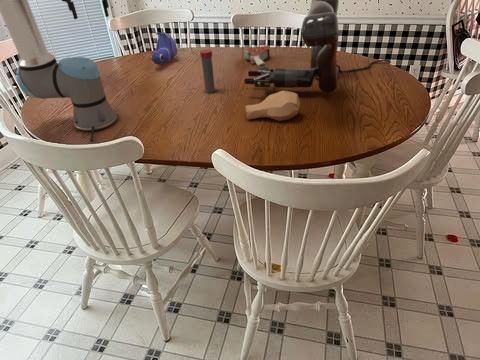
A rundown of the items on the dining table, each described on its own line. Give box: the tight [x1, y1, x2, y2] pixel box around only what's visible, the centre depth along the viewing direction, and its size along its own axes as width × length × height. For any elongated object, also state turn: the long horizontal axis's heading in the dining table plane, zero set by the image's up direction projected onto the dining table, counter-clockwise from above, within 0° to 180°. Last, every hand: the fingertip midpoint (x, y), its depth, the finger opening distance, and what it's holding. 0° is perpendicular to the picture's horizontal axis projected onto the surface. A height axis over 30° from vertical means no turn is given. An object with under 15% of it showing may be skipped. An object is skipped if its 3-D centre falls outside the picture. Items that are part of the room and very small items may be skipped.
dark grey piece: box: [200, 56, 216, 94], centre depth 148 cm, size 4×4×16 cm
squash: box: [244, 90, 301, 122], centre depth 127 cm, size 11×20×9 cm, turn 92°
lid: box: [199, 48, 213, 58], centre depth 143 cm, size 5×5×2 cm
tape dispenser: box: [243, 45, 270, 70], centre depth 179 cm, size 18×5×20 cm
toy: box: [150, 31, 178, 69], centre depth 181 cm, size 10×17×25 cm
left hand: (91, 17), depth 156 cm, fingers open, 13 cm apart
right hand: (246, 77), depth 145 cm, fingers open, 8 cm apart
